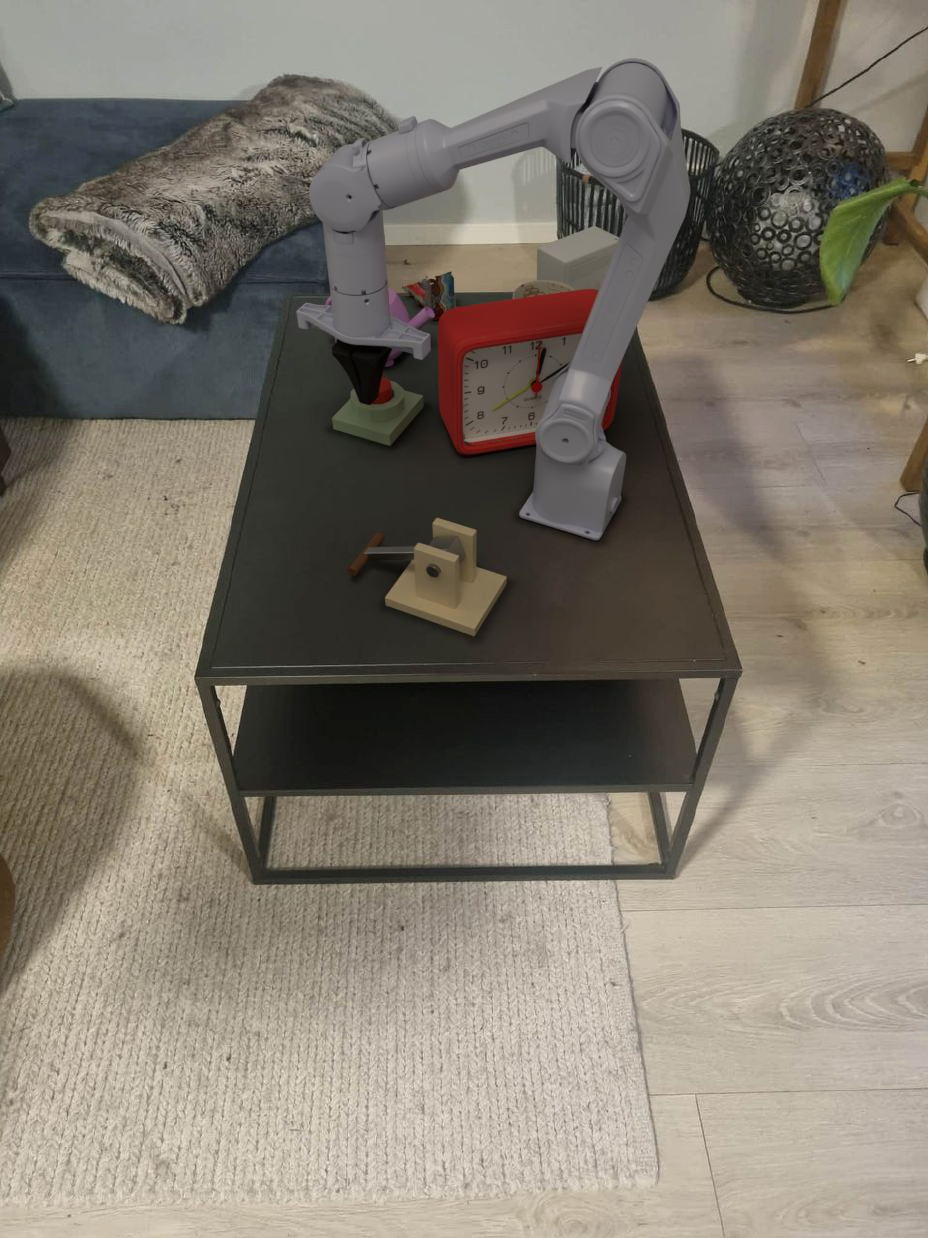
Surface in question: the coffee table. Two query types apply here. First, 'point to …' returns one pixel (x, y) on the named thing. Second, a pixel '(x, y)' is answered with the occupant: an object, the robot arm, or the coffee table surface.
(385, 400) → the button
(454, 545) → the lever
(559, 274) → the cosmetics box
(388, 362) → the teapot
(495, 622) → the coffee table surface
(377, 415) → the button box
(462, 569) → the bracket
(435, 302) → the multicoloured jagged piece
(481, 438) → the alarm clock
